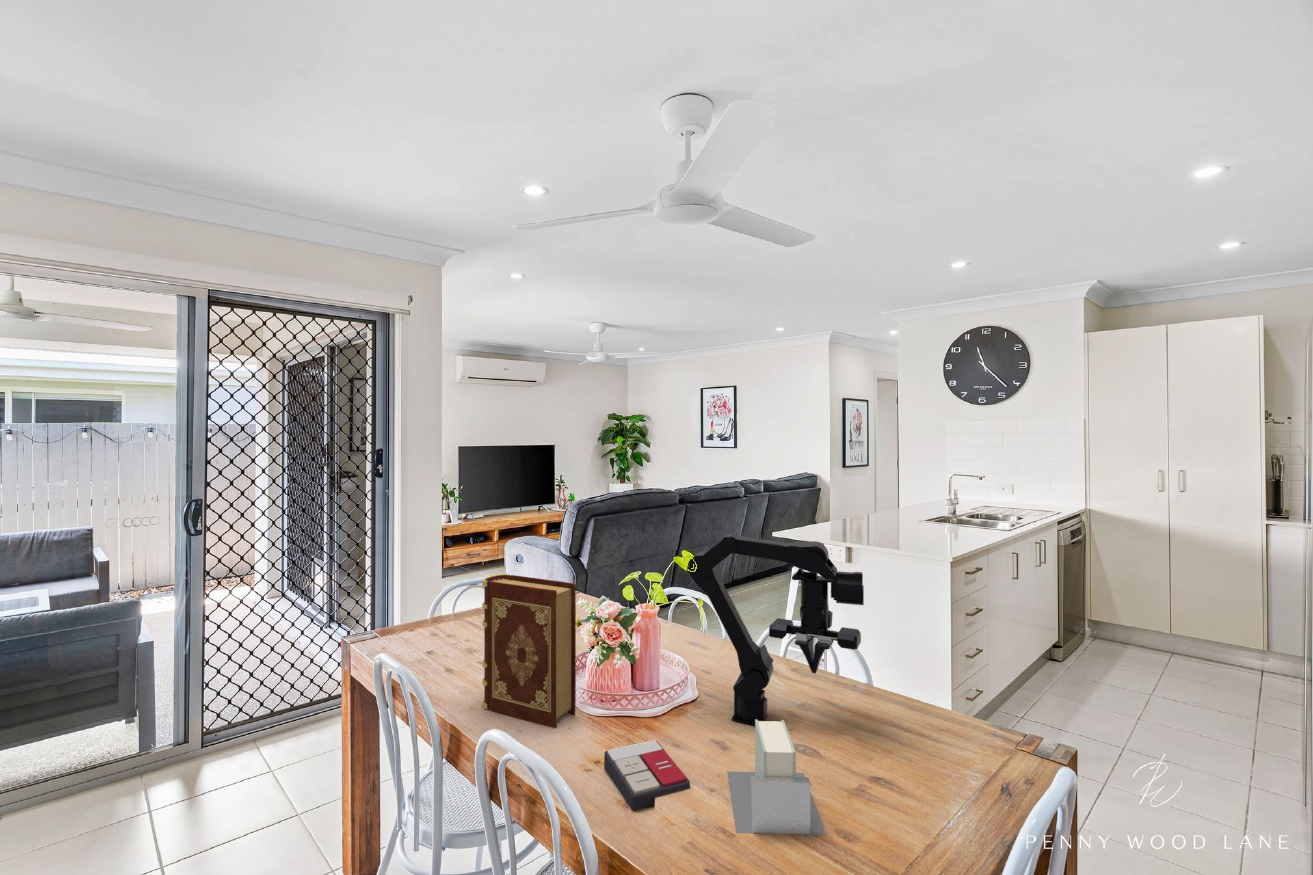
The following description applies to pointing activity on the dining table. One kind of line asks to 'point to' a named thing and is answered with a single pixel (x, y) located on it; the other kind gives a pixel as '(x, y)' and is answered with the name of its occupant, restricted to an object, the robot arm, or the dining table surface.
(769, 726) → the book
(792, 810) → the bookend
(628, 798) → the calculator
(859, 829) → the dining table surface
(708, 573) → the robot arm
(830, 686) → the dining table surface
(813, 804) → the shelf board
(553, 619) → the decorative book
